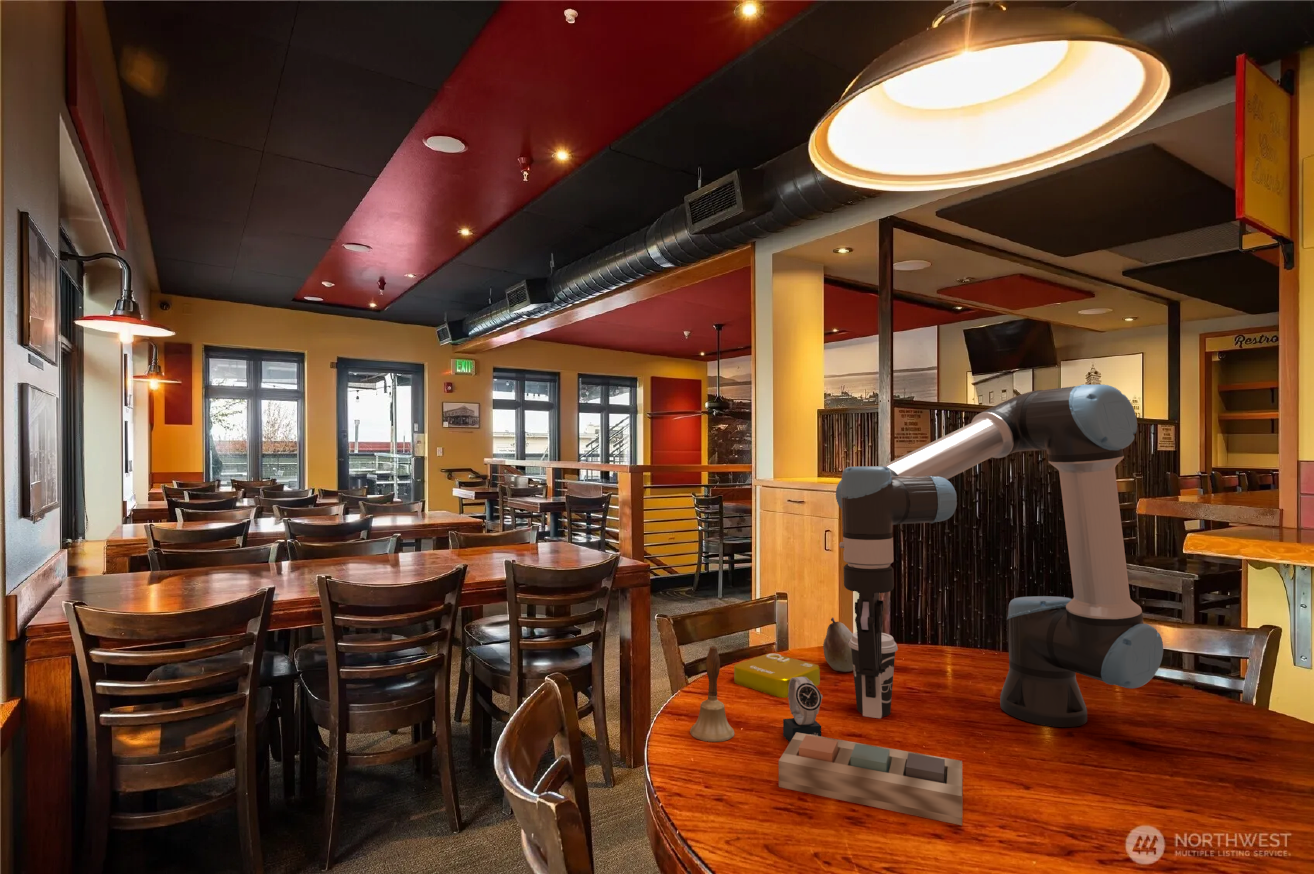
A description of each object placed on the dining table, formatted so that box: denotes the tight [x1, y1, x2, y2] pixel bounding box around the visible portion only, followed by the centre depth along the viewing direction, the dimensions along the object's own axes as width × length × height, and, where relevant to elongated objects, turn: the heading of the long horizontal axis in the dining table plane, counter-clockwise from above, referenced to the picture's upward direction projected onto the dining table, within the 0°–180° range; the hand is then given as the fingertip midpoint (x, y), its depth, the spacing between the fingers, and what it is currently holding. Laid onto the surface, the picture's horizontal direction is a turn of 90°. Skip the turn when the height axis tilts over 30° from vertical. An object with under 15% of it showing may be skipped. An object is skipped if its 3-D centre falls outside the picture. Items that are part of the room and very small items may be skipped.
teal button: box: [851, 744, 890, 773], centre depth 104 cm, size 5×5×4 cm
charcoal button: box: [906, 753, 945, 783], centre depth 100 cm, size 5×5×4 cm
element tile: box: [733, 652, 821, 699], centre depth 152 cm, size 15×15×5 cm
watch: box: [782, 677, 824, 744], centre depth 121 cm, size 6×8×11 cm
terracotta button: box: [799, 735, 838, 763], centre depth 107 cm, size 5×5×4 cm
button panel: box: [778, 732, 964, 826], centre depth 104 cm, size 26×12×4 cm, turn 65°
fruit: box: [822, 617, 854, 673], centre depth 162 cm, size 10×9×12 cm
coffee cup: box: [849, 631, 899, 718], centre depth 135 cm, size 10×10×15 cm
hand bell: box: [689, 645, 735, 743], centre depth 124 cm, size 8×8×16 cm
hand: (872, 715), depth 104 cm, fingers closed
